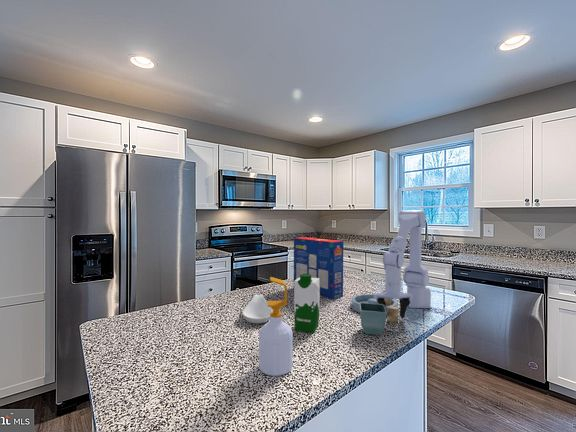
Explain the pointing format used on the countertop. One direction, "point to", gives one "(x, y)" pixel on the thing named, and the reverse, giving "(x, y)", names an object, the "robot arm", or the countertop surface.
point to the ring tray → (368, 301)
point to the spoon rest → (257, 310)
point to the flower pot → (373, 318)
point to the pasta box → (320, 263)
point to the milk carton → (306, 303)
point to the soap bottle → (276, 340)
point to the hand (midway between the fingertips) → (392, 317)
